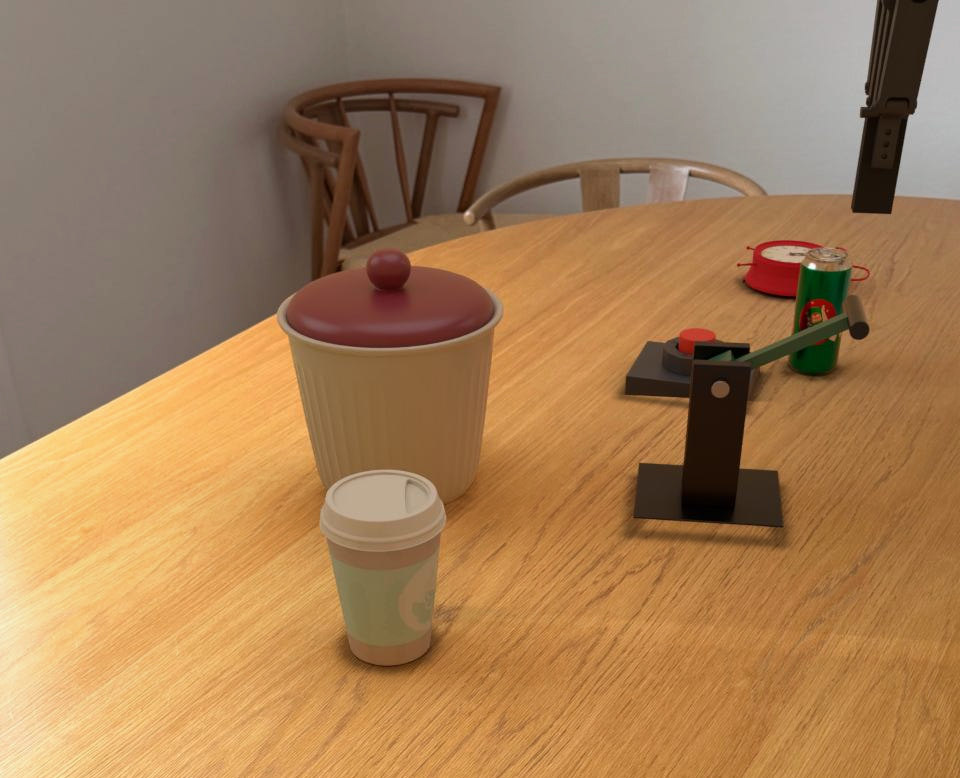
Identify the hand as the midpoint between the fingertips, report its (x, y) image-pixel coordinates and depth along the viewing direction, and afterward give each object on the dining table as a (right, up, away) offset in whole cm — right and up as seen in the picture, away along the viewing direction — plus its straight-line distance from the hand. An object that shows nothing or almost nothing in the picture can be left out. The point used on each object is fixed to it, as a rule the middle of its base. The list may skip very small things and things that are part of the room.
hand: (870, 210), depth 91 cm
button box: (-7, -5, +37) cm, 38 cm away
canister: (-35, -18, +19) cm, 44 cm away
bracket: (-9, -20, +15) cm, 27 cm away
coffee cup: (-35, -32, -1) cm, 47 cm away
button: (-7, -2, +35) cm, 36 cm away
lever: (-4, -9, +7) cm, 13 cm away
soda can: (+6, -3, +41) cm, 41 cm away
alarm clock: (+11, +12, +62) cm, 64 cm away
